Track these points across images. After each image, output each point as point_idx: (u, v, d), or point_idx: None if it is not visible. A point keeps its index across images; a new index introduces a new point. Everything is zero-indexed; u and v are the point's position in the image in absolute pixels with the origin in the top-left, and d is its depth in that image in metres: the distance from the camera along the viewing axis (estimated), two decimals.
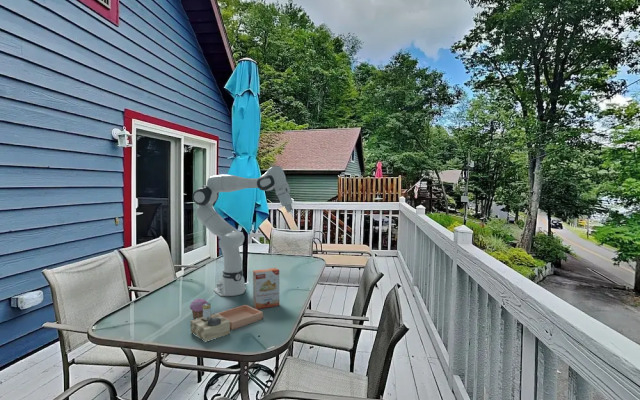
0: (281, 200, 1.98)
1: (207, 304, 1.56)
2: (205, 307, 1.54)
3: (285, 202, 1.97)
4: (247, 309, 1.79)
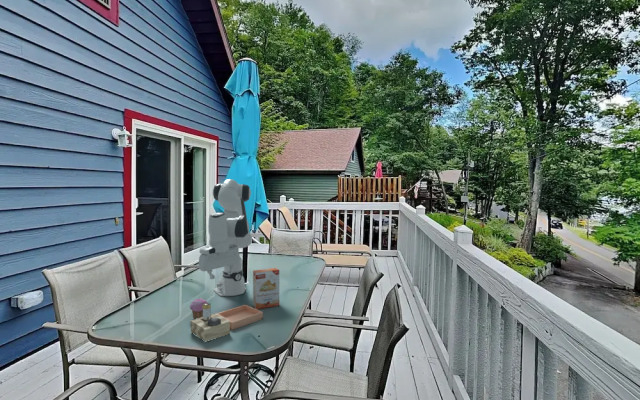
0: (199, 263, 1.50)
1: (207, 304, 1.56)
2: (205, 307, 1.54)
3: (202, 267, 1.48)
4: (247, 309, 1.79)
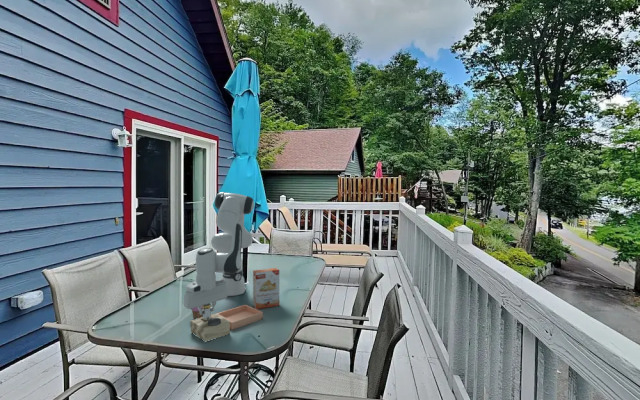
0: (184, 300, 1.49)
1: (207, 304, 1.56)
2: (205, 307, 1.54)
3: (186, 305, 1.48)
4: (247, 309, 1.79)
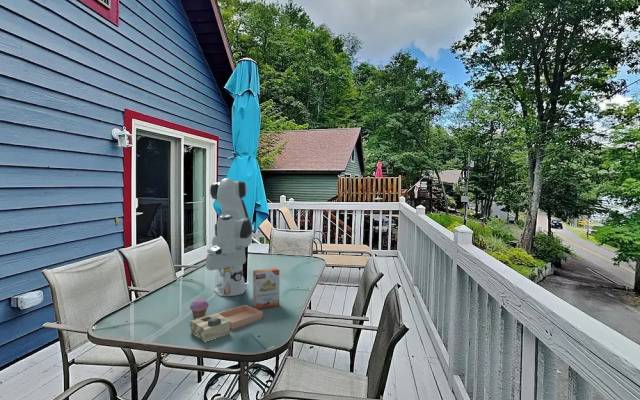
0: (206, 262, 1.58)
1: (227, 267, 1.64)
2: (226, 270, 1.62)
3: (208, 267, 1.56)
4: (247, 309, 1.79)
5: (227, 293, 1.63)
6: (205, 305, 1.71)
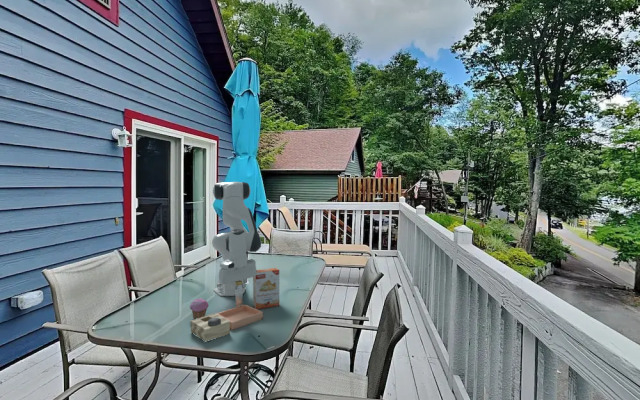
0: (219, 276, 1.63)
1: (239, 281, 1.69)
2: (238, 283, 1.67)
3: (221, 281, 1.61)
4: (247, 309, 1.79)
5: (239, 306, 1.68)
6: (205, 305, 1.71)
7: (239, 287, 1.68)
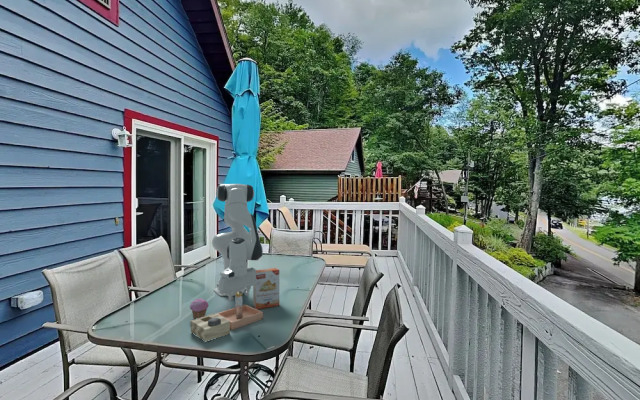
0: (219, 285, 1.63)
1: (239, 292, 1.69)
2: (238, 295, 1.68)
3: (221, 290, 1.61)
4: (247, 309, 1.79)
5: (239, 317, 1.68)
6: (205, 305, 1.71)
7: (239, 299, 1.68)
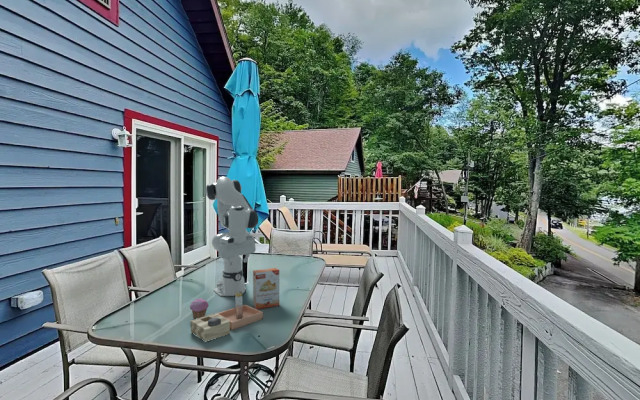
0: (219, 250, 1.65)
1: (239, 292, 1.70)
2: (238, 295, 1.68)
3: (221, 255, 1.64)
4: (247, 309, 1.79)
5: (239, 317, 1.68)
6: (205, 305, 1.71)
7: (239, 299, 1.68)
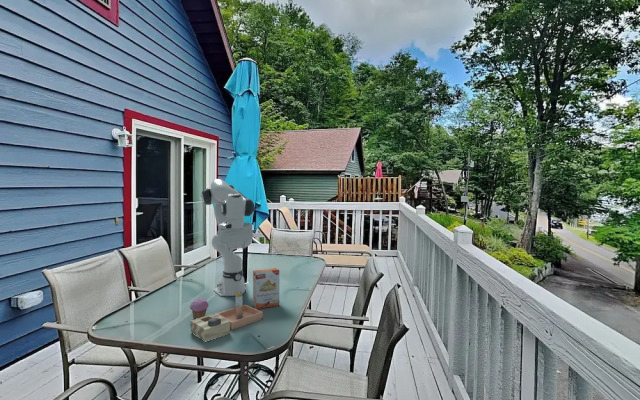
0: (217, 236, 1.72)
1: (239, 292, 1.70)
2: (238, 295, 1.68)
3: (219, 240, 1.71)
4: (247, 309, 1.79)
5: (239, 317, 1.68)
6: (205, 305, 1.71)
7: (239, 299, 1.68)
